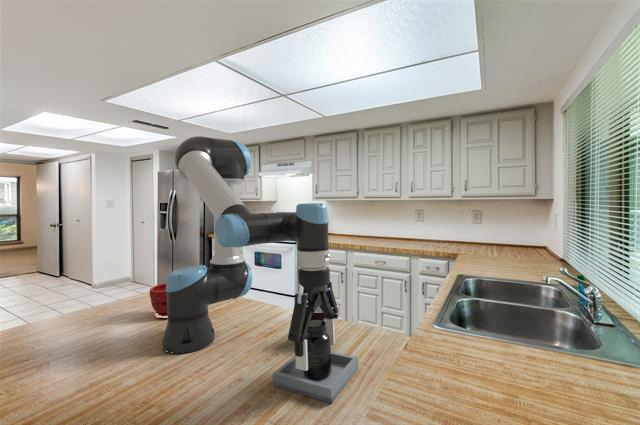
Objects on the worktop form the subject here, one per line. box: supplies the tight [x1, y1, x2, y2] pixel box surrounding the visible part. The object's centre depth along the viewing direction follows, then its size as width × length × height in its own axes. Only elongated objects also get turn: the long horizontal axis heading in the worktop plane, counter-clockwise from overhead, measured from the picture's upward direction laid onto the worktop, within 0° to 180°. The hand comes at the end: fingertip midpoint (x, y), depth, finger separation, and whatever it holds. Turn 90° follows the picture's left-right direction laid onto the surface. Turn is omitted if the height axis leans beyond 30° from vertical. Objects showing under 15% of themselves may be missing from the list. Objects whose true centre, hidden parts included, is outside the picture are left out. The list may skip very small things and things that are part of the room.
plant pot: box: [149, 282, 168, 316], centre depth 122 cm, size 13×13×12 cm
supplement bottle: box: [303, 320, 332, 380], centre depth 74 cm, size 7×7×12 cm
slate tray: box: [272, 351, 359, 404], centre depth 74 cm, size 15×15×3 cm
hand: (316, 355), depth 74 cm, fingers open, 13 cm apart
